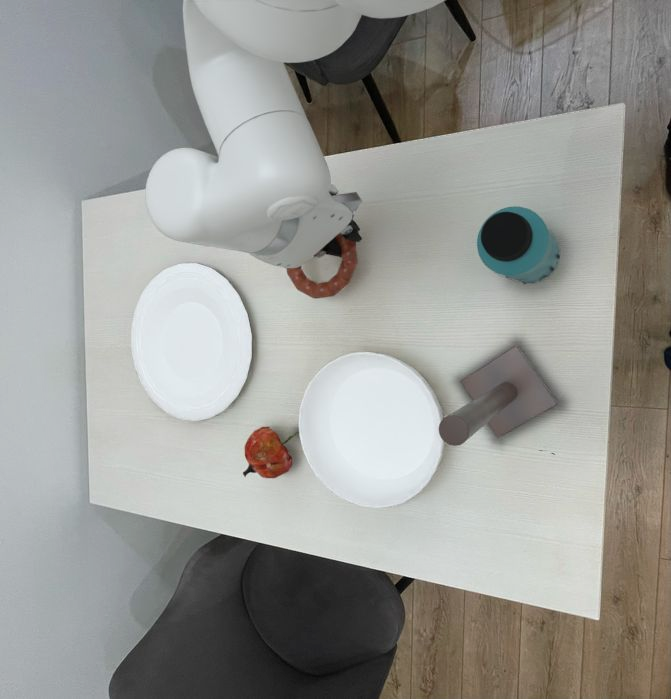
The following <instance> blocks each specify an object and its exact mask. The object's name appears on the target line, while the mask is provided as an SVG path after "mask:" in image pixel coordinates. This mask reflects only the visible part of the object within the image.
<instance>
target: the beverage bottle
mask: <svg viewBox="0 0 671 699" xmlns="http://www.w3.org/2000/svg"><path fill="white" fill-rule="evenodd" d="M476 248H477V253H478V256H479V258H480V260H481V261H482V263H483V265H485V266H486V268H488V269H489V270H490V271H492V272H493V273H495V274H497V275H500V276H503V277H505V278H507V279H508V280H513V281H515V282H516V283H519V284H523V285H528V284H533V285H534V284H538V283H541V282H544V281H545V280H546V279H547V278H549V277H551V275H552V274H553V273H555V271H556V269H557V268H558V266H559V263H560V261H561V254H562V252H561V249H560V247H559V243H558V241H557V238H556V236H555V234H553V233H552V231H551V230H550V228H548V227H547V225H546V222H545V221H544V219H543V218H542V217H541V216H540V215H539V214H538V213H536V212H535V211H533V210H532V209H530V208H527V207H523V206H516V205H513V206H506V207H504V208H500V209H499V210H496V211H495V212H493V213H491V214H490V215H489V216H488V217H487V218H486V220H485V221H483V223H482V225H481V227H480V228H479V231H478V234H477V239H476Z"/></svg>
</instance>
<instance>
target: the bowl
mask: <svg viewBox="0 0 671 699" xmlns="http://www.w3.org/2000/svg"><path fill="white" fill-rule="evenodd" d="M444 418H445V417H444V414H443V410H442V406H441V404H440V401H439V400H438V397H437V395H436V393H435V392H434V390H433V388H432V387H431V386H430V384H429V383H428V381H427V380H426V378H424V377H423V376H422V375H421V374H420V373H419V372H418V371H417V370H416V369H415V368H414V367H412V366H411V365H409V364H407V363H406V362H404V361H403V360H401V359H399V358H397V357H394V356H392V355H388V354H383V353H379V352H374V351H373V352H372V351H355V352H350V353H346V354H342V355H340V356H338V357H336V358H334V359H332V360H330V361H329V362H327V363H326V364H325V365H324V366H323V367H321V368H320V369H319V370H318V371H317V372H316V373H315V374H314V376H313V377H312V379H311V380H310V381H309V383H308V384H307V387H306V389H305V390H304V393H303V395H302V399H301V402H300V405H299V412H298V432H299V433H298V434H299V435H298V436H299V439H300V443H301V448H302V451H303V454H304V456H305V459H306V460H307V463H308V465H309V467H310V468H311V470H312V471H313V473H314V475H315V476H316V477H317V478H318V479H319V481H320V482H321V483H322V484H323V485H324V486H325V487H326V488H327V489H328V490H329V491H331V493H333V494H335V495H336V496H337V497H339V498H341V499H342V500H344V501H346V502H348V503H350V504H354V505H357V506H360V507H363V508H372V509H384V508H391V507H395V506H398V505H401V504H403V503H406V502H408V501H409V500H411V499H413V498H414V497H416V496H417V495H418V494H420V493H421V491H422V490H423V489H424V488H425V487H426V486H427V485H428V484H429V483H430V481H431V479H432V478H433V476H434V474H435V473H436V471H437V469H438V468H439V466H440V463H441V460H442V457H443V454H444V450H445V444H446V443H445V442H444V441H443V440H442V438H441V437H440V434H439V424H440V422H441V421H442V420H443V419H444Z"/></svg>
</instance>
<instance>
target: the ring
mask: <svg viewBox="0 0 671 699" xmlns="http://www.w3.org/2000/svg"><path fill="white" fill-rule="evenodd" d="M335 239H336V240H337V242H338V243H339V245H340V247H341V255H342V257H341V263H340V265H339V267H338V270H337V273H336V274H334V276H332V277H331V278H330V279H329V280H328V281H322V282H316V281H314V280H312V279H310V278H308V277H307V275H306V273H305V272H304V270H303V269H302V265H301V266H300V267H298V268H287V269H286V275H287V276H288V277H289V279H290V281H291V282H292V284H293V286H294V288H295V289H296V290H297V291H299V292H300V293H303V294H304V295H306V296H308V297H310V298H312V299H324V298H325V299H326V298H332V297H335V296H337V295H338V294H339V293H340V292H341V291H342V290H344V289H345V288H347V286H349V285H350V283H351V282H352V279H353V277H354V274H355V272H356V269H357V266H358V264H359V259H358V246H357V242H355V241H351V240H347V239H345V238H344V237H343V235H342V234H338V235H336V236H335Z"/></svg>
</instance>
